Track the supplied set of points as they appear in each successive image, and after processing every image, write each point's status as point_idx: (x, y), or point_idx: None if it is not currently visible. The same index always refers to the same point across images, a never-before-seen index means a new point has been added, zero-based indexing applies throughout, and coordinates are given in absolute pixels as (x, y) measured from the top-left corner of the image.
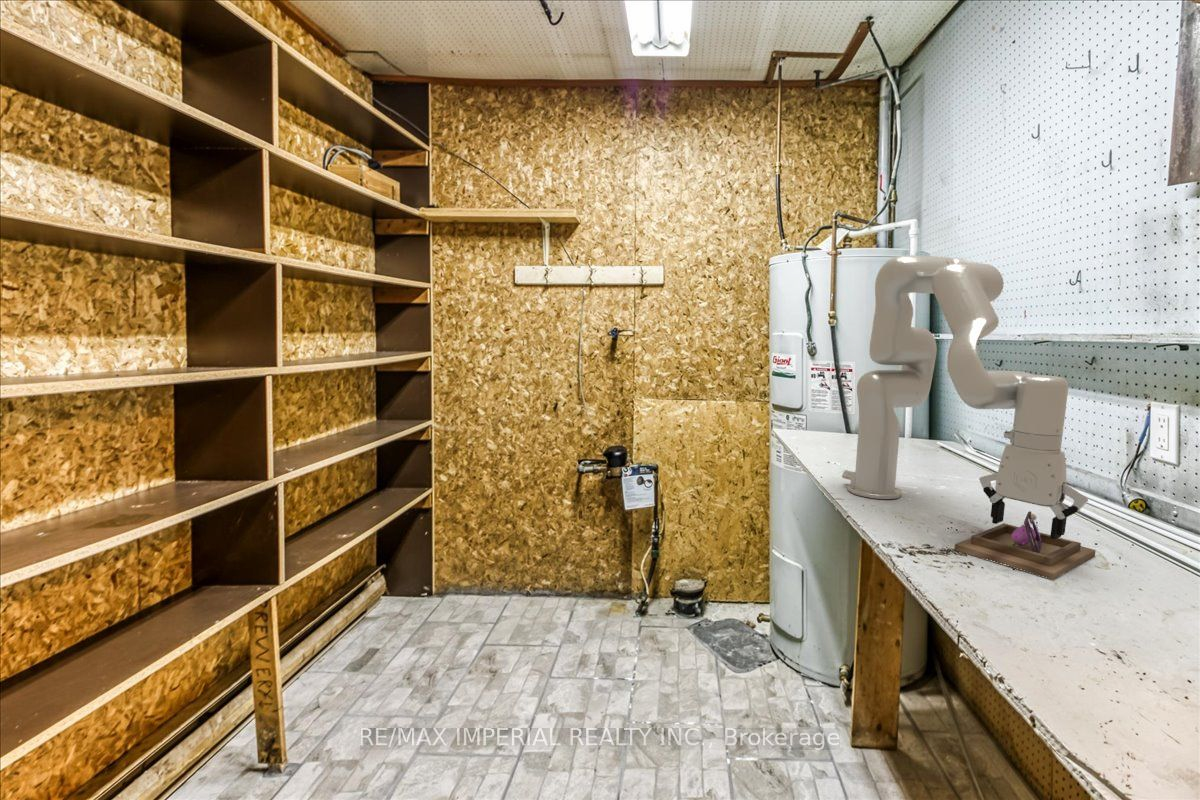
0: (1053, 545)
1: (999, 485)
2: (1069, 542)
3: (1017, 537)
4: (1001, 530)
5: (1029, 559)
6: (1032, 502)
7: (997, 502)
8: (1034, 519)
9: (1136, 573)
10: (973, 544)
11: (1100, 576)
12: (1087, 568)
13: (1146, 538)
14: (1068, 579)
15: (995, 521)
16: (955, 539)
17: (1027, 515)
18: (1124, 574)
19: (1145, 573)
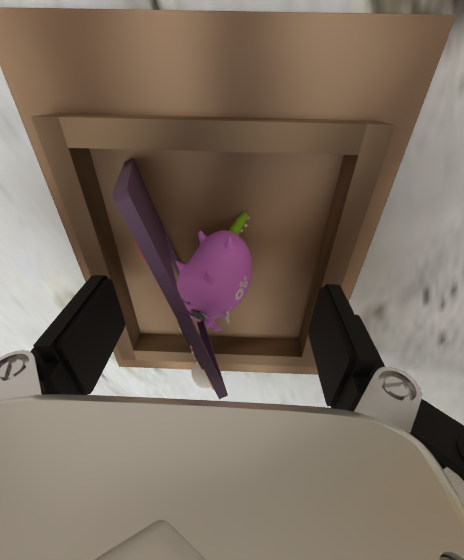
0: (180, 332)
1: (450, 548)
2: (141, 348)
3: (222, 241)
4: (307, 324)
5: (130, 115)
6: (110, 403)
7: (362, 381)
8: (196, 361)
9: (22, 319)
10: (364, 118)
11: (17, 234)
12: (73, 268)
13: None
14: (7, 105)
15: (328, 289)
16: (428, 200)
17: (199, 346)
18: (20, 295)
19: (19, 331)
